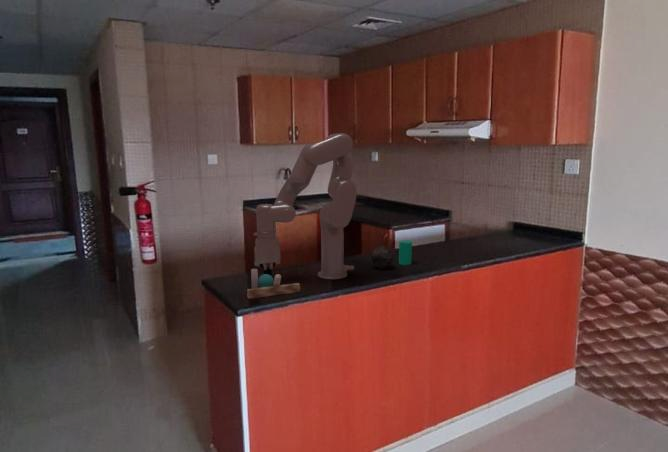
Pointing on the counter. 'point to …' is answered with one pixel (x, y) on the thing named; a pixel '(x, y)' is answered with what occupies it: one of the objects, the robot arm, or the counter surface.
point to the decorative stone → (382, 257)
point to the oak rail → (273, 290)
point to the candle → (405, 252)
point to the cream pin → (277, 280)
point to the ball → (265, 281)
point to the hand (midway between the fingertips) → (267, 278)
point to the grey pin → (254, 278)
